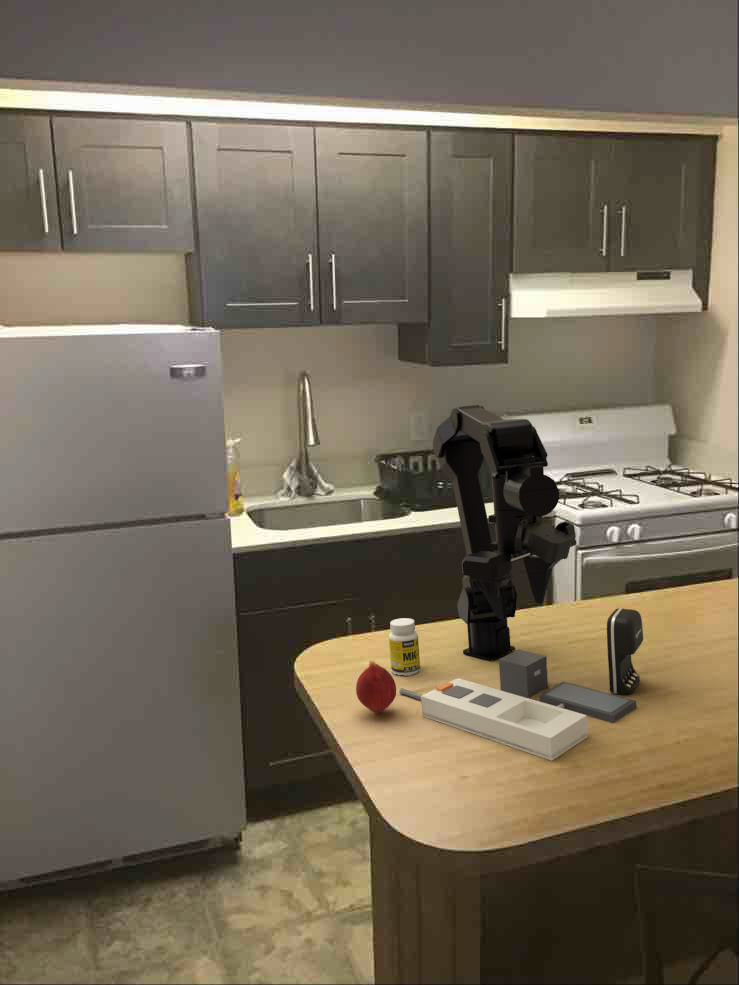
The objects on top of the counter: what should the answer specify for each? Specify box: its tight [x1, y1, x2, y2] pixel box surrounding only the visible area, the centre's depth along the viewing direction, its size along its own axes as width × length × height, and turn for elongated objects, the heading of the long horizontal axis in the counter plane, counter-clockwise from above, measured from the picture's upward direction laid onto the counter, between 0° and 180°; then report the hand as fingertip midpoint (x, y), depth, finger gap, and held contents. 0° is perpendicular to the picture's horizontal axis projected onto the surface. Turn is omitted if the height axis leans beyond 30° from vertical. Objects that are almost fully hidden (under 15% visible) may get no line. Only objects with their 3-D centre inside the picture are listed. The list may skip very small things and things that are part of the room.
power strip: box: [399, 677, 588, 761], centre depth 117 cm, size 30×8×3 cm, turn 43°
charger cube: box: [498, 649, 549, 699], centre depth 126 cm, size 5×5×5 cm
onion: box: [355, 659, 397, 715], centre depth 121 cm, size 6×6×8 cm
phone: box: [538, 681, 637, 724], centre depth 116 cm, size 12×12×1 cm
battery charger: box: [606, 607, 644, 695], centre depth 122 cm, size 7×4×11 cm, turn 150°
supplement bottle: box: [388, 617, 421, 677], centre depth 137 cm, size 5×5×8 cm
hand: (521, 611), depth 124 cm, fingers open, 9 cm apart
